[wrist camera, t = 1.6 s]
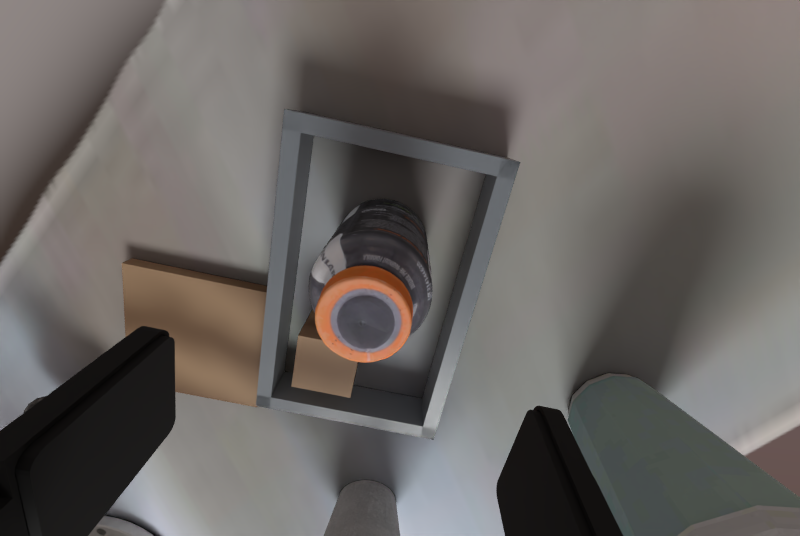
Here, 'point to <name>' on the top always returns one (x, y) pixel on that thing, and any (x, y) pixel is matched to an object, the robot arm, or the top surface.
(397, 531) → the house plant
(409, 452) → the top surface
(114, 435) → the robot arm
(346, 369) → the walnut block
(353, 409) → the bin
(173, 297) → the pad
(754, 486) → the disposable coffee cup
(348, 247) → the pill bottle
